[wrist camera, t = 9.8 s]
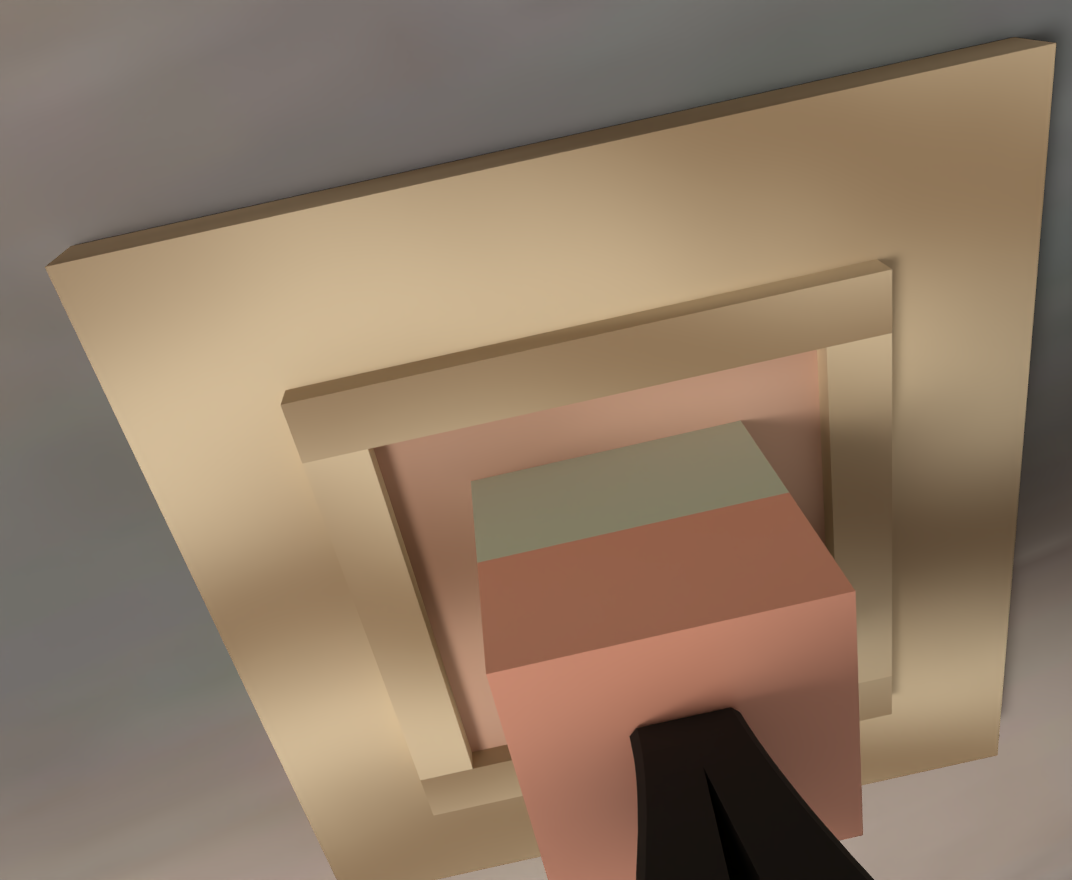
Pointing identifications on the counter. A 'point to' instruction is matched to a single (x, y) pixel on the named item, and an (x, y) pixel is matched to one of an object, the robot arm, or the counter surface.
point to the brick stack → (660, 631)
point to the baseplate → (589, 407)
